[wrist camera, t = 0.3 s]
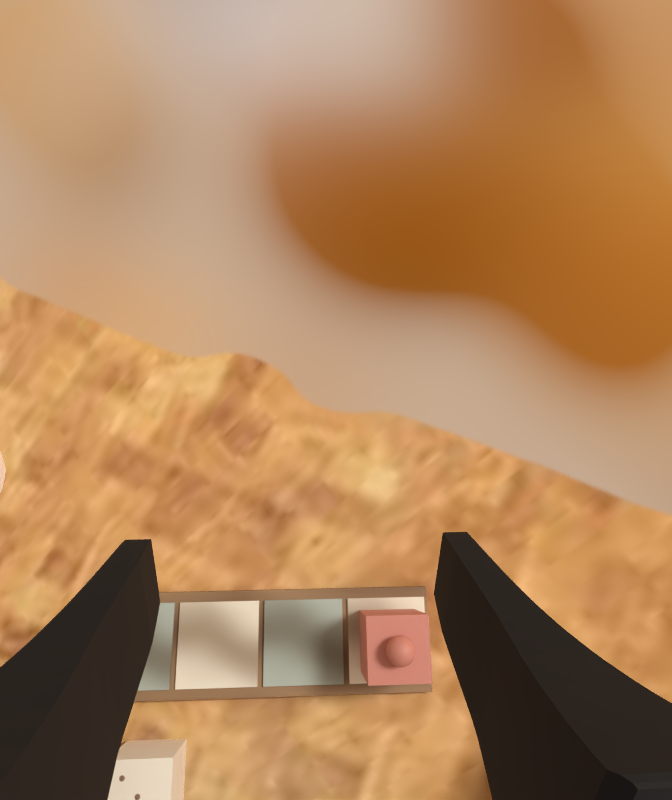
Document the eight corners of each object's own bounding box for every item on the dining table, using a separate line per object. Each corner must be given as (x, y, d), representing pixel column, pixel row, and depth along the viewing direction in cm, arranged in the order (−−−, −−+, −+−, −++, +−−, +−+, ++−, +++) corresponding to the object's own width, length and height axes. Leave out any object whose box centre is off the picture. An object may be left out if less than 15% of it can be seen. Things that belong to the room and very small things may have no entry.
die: (183, 807, 36) (168, 836, 32) (121, 810, 36) (99, 839, 32) (186, 738, 38) (173, 757, 34) (127, 740, 37) (106, 760, 33)
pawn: (417, 669, 39) (438, 689, 32) (360, 671, 38) (371, 691, 32) (413, 608, 40) (433, 616, 34) (358, 610, 40) (368, 618, 33)
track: (430, 690, 39) (432, 692, 38) (85, 701, 38) (81, 704, 37) (423, 586, 41) (425, 586, 40) (96, 593, 40) (92, 594, 39)
